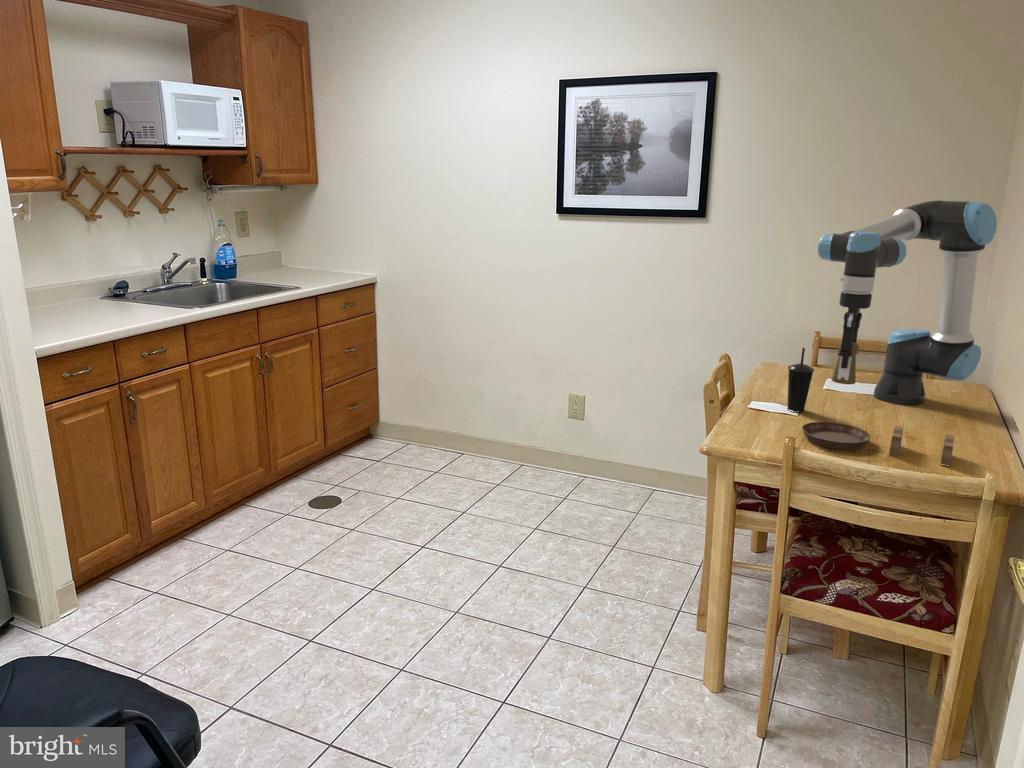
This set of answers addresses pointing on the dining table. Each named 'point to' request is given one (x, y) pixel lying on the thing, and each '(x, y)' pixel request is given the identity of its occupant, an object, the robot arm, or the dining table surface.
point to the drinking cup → (799, 384)
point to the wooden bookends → (945, 452)
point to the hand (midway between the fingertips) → (844, 377)
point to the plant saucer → (835, 435)
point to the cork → (852, 368)
